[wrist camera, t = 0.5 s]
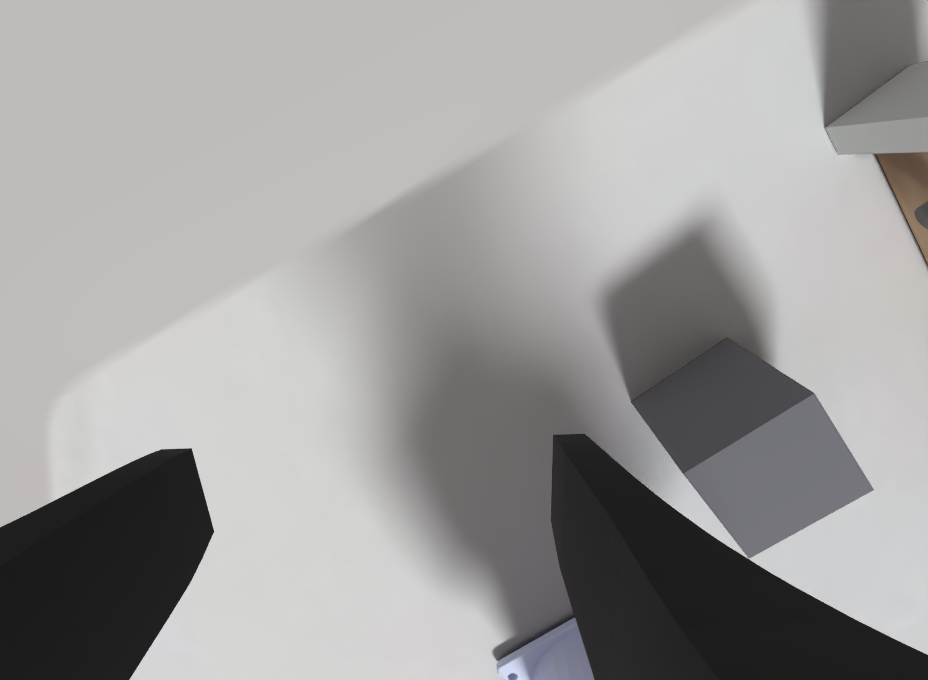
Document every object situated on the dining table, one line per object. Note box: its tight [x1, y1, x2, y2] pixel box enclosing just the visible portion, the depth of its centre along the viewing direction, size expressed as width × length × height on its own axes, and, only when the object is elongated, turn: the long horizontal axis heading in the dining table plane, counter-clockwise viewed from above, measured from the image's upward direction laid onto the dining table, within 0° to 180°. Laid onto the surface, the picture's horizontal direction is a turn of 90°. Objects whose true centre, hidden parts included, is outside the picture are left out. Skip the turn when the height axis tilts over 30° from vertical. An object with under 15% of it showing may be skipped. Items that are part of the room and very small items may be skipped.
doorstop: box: [631, 338, 874, 558], centre depth 18 cm, size 4×4×5 cm
